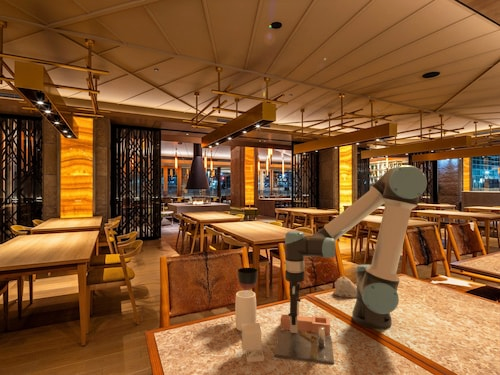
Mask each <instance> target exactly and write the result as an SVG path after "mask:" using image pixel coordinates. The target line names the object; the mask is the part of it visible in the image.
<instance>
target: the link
mask: <svg viewBox="0 0 500 375" xmlns="http://www.w3.org/2000/svg"><path fill="white" fill-rule="evenodd" d="M330 322H331V321H330V317H329V316H318V315H311V316H306V315H304V316H303V315H299V316H297V331H299V332H301V331H303V330H304V331H306V332H311V333H312V334H318V328H319V327H324V328H325V335H330V336H331V324H330ZM280 330H288V331H290V316H288V314H283V313H281V316H280Z"/></svg>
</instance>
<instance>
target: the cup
mask: <svg viewBox="0 0 500 375" xmlns="http://www.w3.org/2000/svg"><path fill="white" fill-rule="evenodd" d="M234 303H235V309H234V310H235V311H234V312H235V315H234V316H235V328H236V329H237V330H238V331H240V332H241V324H248V323H257V298H256V292H254V291H253V290H249V291H248V290H246V289H244V290H239V291H237V292H236V293H235V302H234Z"/></svg>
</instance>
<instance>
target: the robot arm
mask: <svg viewBox="0 0 500 375" xmlns="http://www.w3.org/2000/svg"><path fill="white" fill-rule="evenodd" d="M427 186H428V181H427V176H426V174H425V173H424V172H423V171H422V170H421V169H420V168H418V167H416V166H413V165H406V164H405V165H400V166H399V165H398V166H396V167H393V168H390V169H388V170H387V171H386V172H385V173H384V174H383V175H382V176H381V177H380V178H378V179H377V181H375V182H374V183H373V184H372V185H370V189H369V190H368V191H367V192H366V193H364V194H363V195H362V196H361V197H359V198H358V199H357V200H356V201H355V202H352V204H351V205H349V206H348V207H347V208H345V209H344V210H343V211H342V212H340V213H339V214H338V215H337V216H336V217H335V218H333V219H332V220H331V221H330V222H328V223H327V224H326V225H325V226H323V227H322V228H320V229H319V230H318V231H316V232H314V233H313V234H312V236H309V237H308V236H305V233H304V232H303V231H300V230H299V231H298V230H290V231H287V232H286V233H285V241H284V249H285V250H284V256H285V257H284V258H285V260H284V261H283V264H285V265H284V266H285V267H284V268H285V272H284V274H285V275H284V277H285V278H284V279H285V281H287V282H290V283H289V286H288V287H289V297H290V298H289V300H290V301H289V313H287V315H288V316H290V330H289V331H290V332H291V333H297V332H298V330H297V316H300V302H301V298H300V289H301V285H300V283H302V282H304V281H305V257H314V258H325V259H327V258H334V257H335V256H336V241H337V240H338V239H339V238H341V237H342V236H344V235H345V234H346V233H347V232H348V231H349V232H350V230H351V229H352V228H354V227H355V226H356V225H358V224H359V223H361V222H362V221H363V220H364V219H366V217H368V216H369V215H371V214H372V213H373V212H374V211H376V210H377V209H379V208H380V207H381V206H383V205H384V204H385V205H384V208H383V214H382V218H381V223H380V225H379V231H378V235H377V238H376V244H375V247H374V251H373V256H372V260H371V263H370V264H358V265H357V266H356V271H355V273H356V274H355V275H356V277H355V278H356V284H355V287H356V290H357V298H356V300H355V304H354V306H353V310H352V316H351V317H352V320H353V322H355V323H356V324H358V325H360V326H362V327H365V328H369V329H373V330H383V329H388V328H390V327H392V325H393V324H392V323H393V322H392V321H393V319H392V316H391V313H392V312H394V311H395V310H396V309H397V308H398V305H399V302H400V301H399V300H400V299H399V298H400V297H399V294H398V288H399V285H400V284H399V283H400V277H399V275H398V273H397V272H398V266H399V262H400V259H401V258H400V257H401V255H402V251H403V246H404V241H405V237H406V233H407V231H408V230H407V229H408V225H409V221H410V218H411V212H412V210H413V209H414V208H416V207H418V204H419V201H420V196H422V195H423V193H424V192H425V191H426V189H427Z"/></svg>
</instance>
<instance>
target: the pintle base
mask: <svg viewBox="0 0 500 375" xmlns="http://www.w3.org/2000/svg"><path fill="white" fill-rule="evenodd" d="M332 343H333V340H332V335H331V334H330V335H325V328H324V327H319V328H318V334H314V333H312V332H311V333H309V332H308V331H304V330H303V331H297V333H291V332H290V330H284V329H279V332H278V336H277V341H276V345H275V350H274V353H273V357H274V358H276V359H277V358H278V359H287V360H297V361H304V362H310V363H311V362H312V363H320V364H321V363H322V364H328V363H329V365H334V364H335V359H334V357H335V356H334V351H333V344H332Z"/></svg>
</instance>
